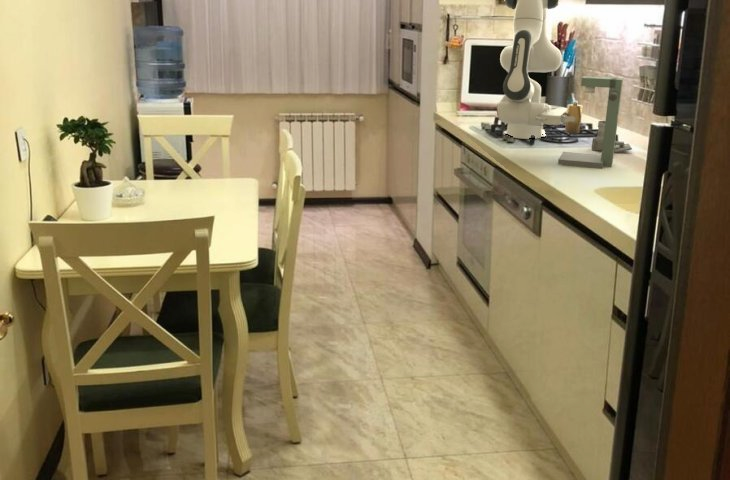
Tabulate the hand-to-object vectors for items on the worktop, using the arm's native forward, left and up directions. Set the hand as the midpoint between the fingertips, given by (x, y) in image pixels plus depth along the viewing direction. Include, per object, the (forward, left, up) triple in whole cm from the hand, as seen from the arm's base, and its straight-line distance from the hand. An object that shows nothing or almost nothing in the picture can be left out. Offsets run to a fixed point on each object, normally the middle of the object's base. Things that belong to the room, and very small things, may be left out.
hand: (576, 117), depth 280 cm
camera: (-26, +13, -17) cm, 34 cm away
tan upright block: (0, -1, -5) cm, 6 cm away
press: (+2, +5, -17) cm, 18 cm away
